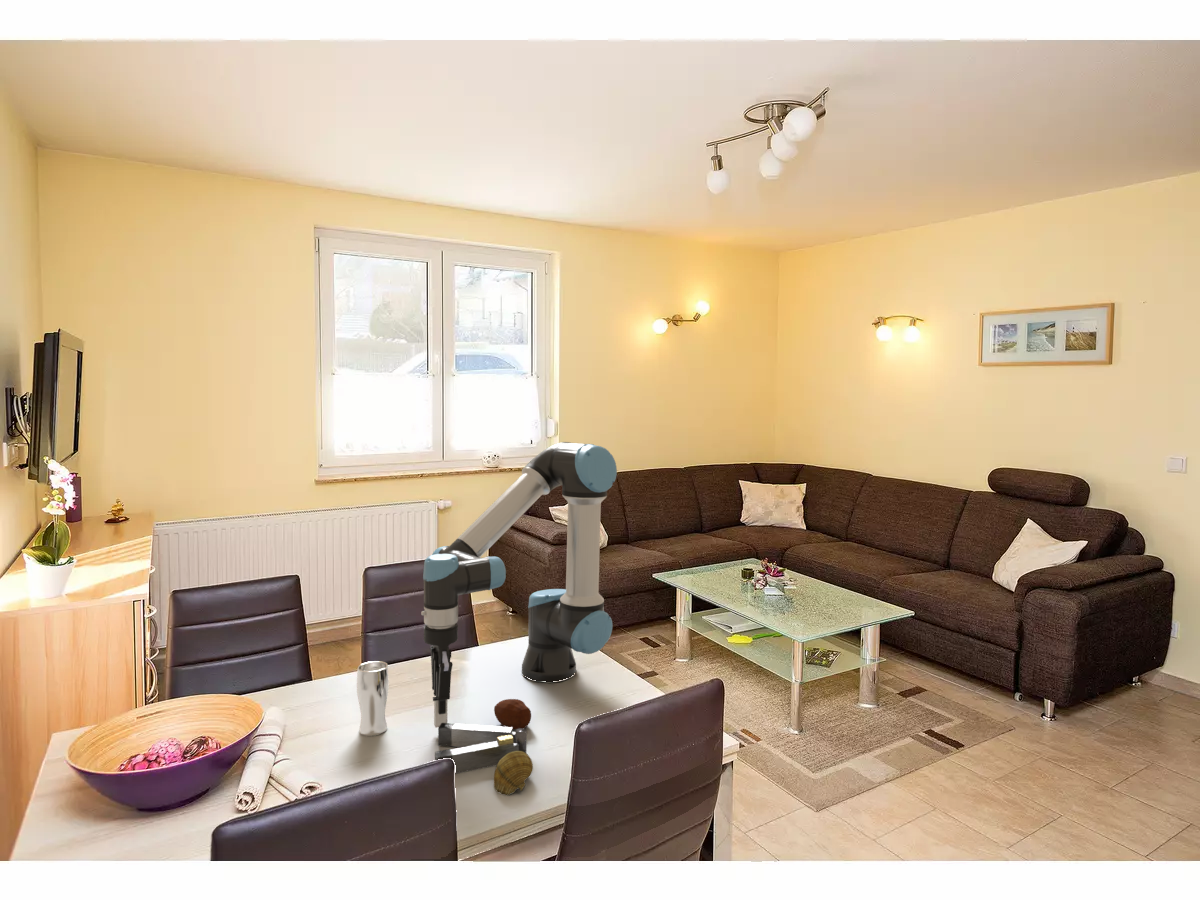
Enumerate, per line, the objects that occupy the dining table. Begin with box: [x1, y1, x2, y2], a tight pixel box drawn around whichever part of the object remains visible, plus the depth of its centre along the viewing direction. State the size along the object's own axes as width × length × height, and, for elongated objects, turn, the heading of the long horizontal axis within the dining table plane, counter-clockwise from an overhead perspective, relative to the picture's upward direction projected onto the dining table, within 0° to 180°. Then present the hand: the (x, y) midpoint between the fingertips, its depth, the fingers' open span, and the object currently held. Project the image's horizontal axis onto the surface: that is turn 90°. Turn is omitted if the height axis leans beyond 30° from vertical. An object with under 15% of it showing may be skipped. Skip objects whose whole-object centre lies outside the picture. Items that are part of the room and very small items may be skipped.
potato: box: [493, 698, 532, 731], centre depth 167 cm, size 7×9×6 cm
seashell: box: [493, 751, 534, 796], centre depth 143 cm, size 10×7×8 cm
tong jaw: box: [437, 722, 515, 748], centre depth 157 cm, size 17×2×4 cm, turn 84°
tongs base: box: [434, 728, 528, 774], centre depth 150 cm, size 20×4×5 cm, turn 114°
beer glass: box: [356, 660, 390, 737], centre depth 163 cm, size 7×7×15 cm
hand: (440, 725), depth 163 cm, fingers closed
